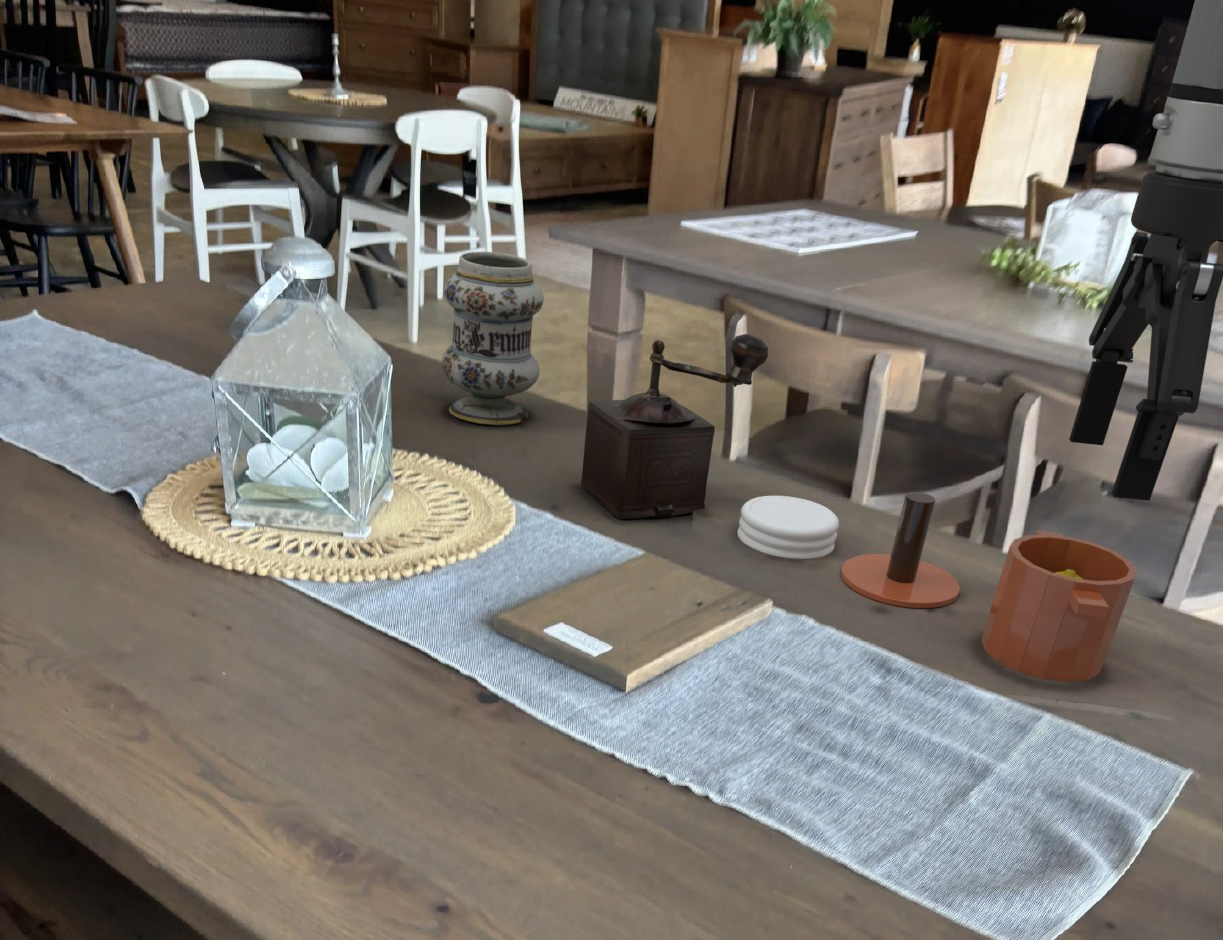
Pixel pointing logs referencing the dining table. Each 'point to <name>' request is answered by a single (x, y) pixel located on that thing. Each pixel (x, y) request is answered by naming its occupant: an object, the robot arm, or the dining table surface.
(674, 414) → the coffee grinder
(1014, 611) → the pot
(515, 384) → the apothecary jar
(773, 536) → the white stacked discs
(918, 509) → the lid
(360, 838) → the dining table surface
